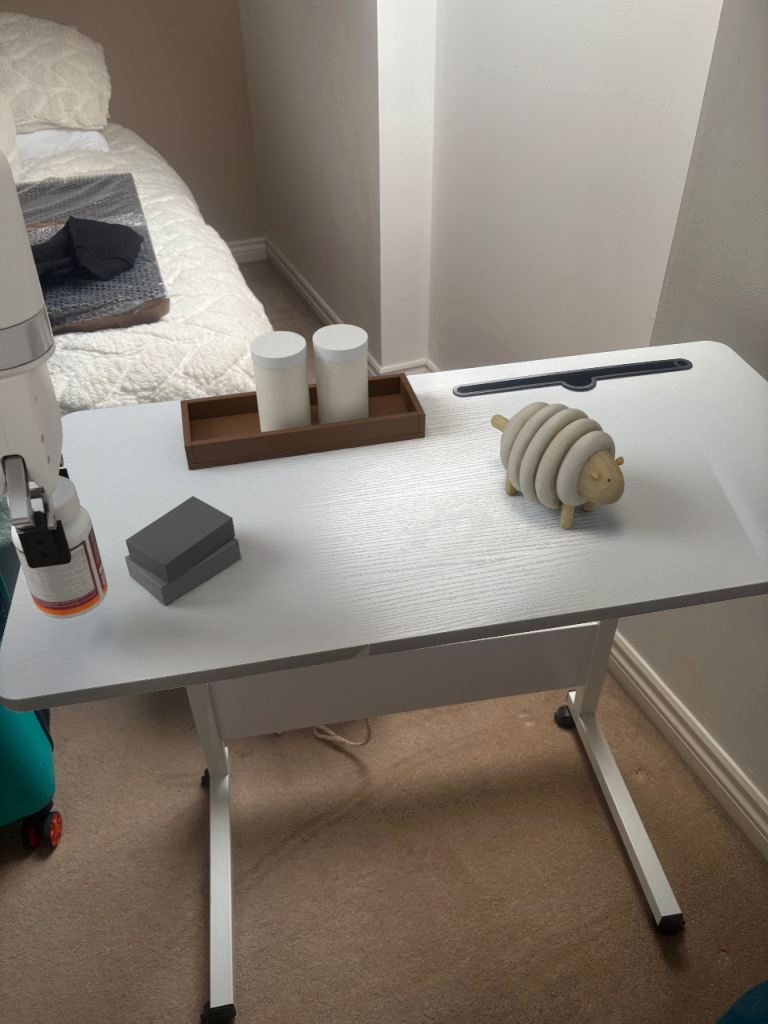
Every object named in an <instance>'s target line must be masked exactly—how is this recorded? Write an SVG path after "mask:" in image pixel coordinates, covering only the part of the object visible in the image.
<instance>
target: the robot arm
mask: <svg viewBox="0 0 768 1024" xmlns="http://www.w3.org/2000/svg"><path fill="white" fill-rule="evenodd" d="M29 238H30V237H29V234H28V230H27V227H26V222H25V218H24V213H23V210H22V206H21V203H20V198H19V195H18V190H17V186H16V182H15V178H14V174H13V172H12V168H11V166H10V161H9V160H8V158H7V156H6V155H5V153H4V152H3V151H2V150H1V149H0V503H2V502H3V500H4V494H5V489H6V490H7V500H8V499H9V506H8V509H9V508H10V509H9V517H10V522H11V526H12V525H13V526H14V527H15V529H16V532H17V534H18V537H19V540H20V543H21V546H22V549H23V552H24V555H25V558H26V561H27V564H28V566H29V567H30V568H40V567H48V566H55V565H62V564H68V563H70V562H71V552H70V549H69V545H68V542H67V539H66V535H65V532H64V528H63V525H62V521H61V520H56V516H55V510H54V505H53V500H52V495H51V494H53V492H54V491H55V490H56V488H57V483H58V476H63V477H65V478H68V479H69V480H71V479H70V475H69V472H68V467H64V466H65V461H64V456H63V453H62V449H63V439H64V437H63V436H64V434H63V433H64V431H63V422H62V416H61V412H60V407H59V404H58V400H57V399H58V398H57V395H56V392H55V388H54V385H53V384H54V383H53V380H52V377H51V374H50V370H49V367H48V364H47V361H49V359H50V358H51V357H52V356H53V355H54V354H55V352H56V348H57V345H56V341H55V337H54V333H53V328H52V325H51V320H50V318H49V317H50V316H49V313H48V309H47V304H46V301H45V299H44V294H43V290H42V287H41V283H40V278H39V275H38V274H39V273H38V271H37V265H36V263H35V258H34V255H33V251H32V247H31V243H30V239H29ZM29 482H35V483H36V484H37V485H38V487H39V488H31V489H30V488H29ZM38 498H42V503H43V508H44V513H43V512H41V511H34V509H33V508H32V504H31V499H38Z"/></svg>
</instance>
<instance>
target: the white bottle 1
mask: <svg viewBox="0 0 768 1024" xmlns="http://www.w3.org/2000/svg"><path fill="white" fill-rule="evenodd" d="M306 340H307V339H305V338H304V337H303V336H302V335H301V334H299V333H296V332H293V331H289V330H288V331H286V330H276V331H275V330H274V331H269V332H265V333H262V334H259V335H258V336H255V338H253V339H252V340H251V342H250V345H249V350H250V358H251V361H252V365H253V366H252V367H253V374H254V375H253V377H254V386H255V391H256V393H257V402H258V410H259V418H260V427H261V432H266V431H274V430H281V429H289V428H296V427H304V426H311V414H310V400H309V387H308V385H309V376H308V374H309V373H308V362H307V361H308V360H307V357H308V347H307V341H306Z"/></svg>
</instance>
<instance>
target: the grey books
mask: <svg viewBox="0 0 768 1024" xmlns="http://www.w3.org/2000/svg"><path fill="white" fill-rule="evenodd" d="M235 531H236V530H235V525H234V519H233V517H232V516H230V515H228V514H227V513H225V512H224V511H221V510H219V509H217V508H216V507H214V506H212V505H211V504H209V503H207V502H206V501H204V500H202V499H200V498H197V497H196V496H194V495H192V496H191V497H189V498H187V499H186V500H184V501H183V502H181V503H180V504H178V505H176V506H175V507H173V508H172V509H171V510H169V511H168V512H166V513H165V514H163V515H161V516H160V517H159V518H157V519H155V520H154V521H152V522H151V523H149V524H148V525H146V526H145V527H143V528H141V529H140V530H139V531H137V532H136V533H134V534H132V536H130V537H127V539H125V544H126V547H127V550H128V551H127V552H128V555H126V556H125V557H124V560H125V564H126V568H127V570H128V574H129V576H130V577H131V578H132V579H133V580H134V581H136V582H137V583H138V584H139V585H140V586H141V587H143V588H144V589H145V590H146V591H148V592H149V593H150V594H151V595H152V596H153V597H154V598H156V599H157V600H158V601H159V602H160V603H162V604H163V605H164V606H167V605H169V604H170V603H172V602H174V601H175V600H177V599H178V598H180V597H182V596H183V595H185V594H186V593H188V592H190V591H191V590H192V589H194V588H196V587H197V586H199V585H201V584H202V583H204V582H205V581H207V580H209V579H210V578H212V577H213V576H215V575H217V574H218V573H220V572H221V571H223V570H224V569H226V568H228V567H229V566H231V565H232V564H234V563H236V562H237V561H239V560H240V559H241V557H242V555H241V549H240V543H239V539H237V538H236V532H235Z"/></svg>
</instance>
